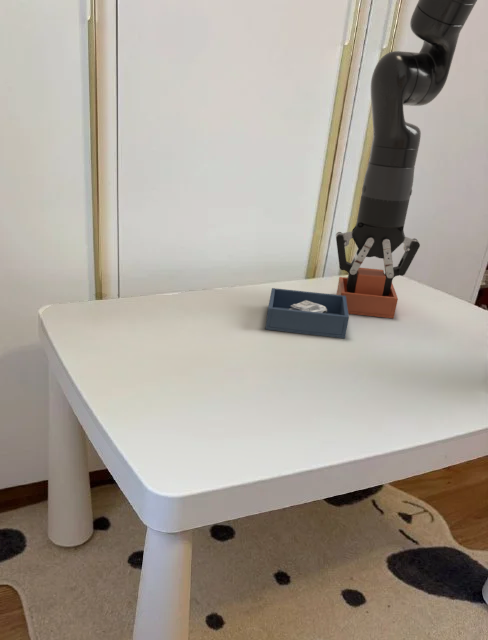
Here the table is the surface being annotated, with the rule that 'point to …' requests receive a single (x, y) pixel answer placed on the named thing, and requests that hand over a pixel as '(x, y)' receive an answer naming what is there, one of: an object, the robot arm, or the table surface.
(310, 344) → the table surface
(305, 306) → the toy car
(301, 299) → the blue bin
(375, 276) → the terracotta block
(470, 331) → the table surface
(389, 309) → the terracotta bin
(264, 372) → the table surface
